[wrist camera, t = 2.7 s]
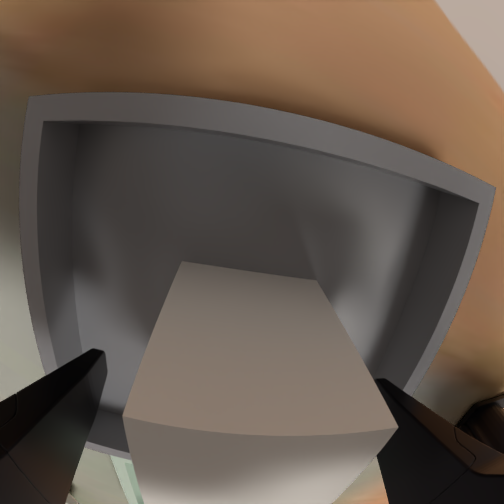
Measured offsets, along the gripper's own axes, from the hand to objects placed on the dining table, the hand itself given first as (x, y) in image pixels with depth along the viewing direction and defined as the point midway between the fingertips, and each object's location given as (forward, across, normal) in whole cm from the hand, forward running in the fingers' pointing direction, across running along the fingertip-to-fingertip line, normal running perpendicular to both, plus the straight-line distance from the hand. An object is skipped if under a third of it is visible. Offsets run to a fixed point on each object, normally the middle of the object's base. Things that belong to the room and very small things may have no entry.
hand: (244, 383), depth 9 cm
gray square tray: (+4, 0, 0) cm, 4 cm away
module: (+3, 0, 0) cm, 3 cm away
